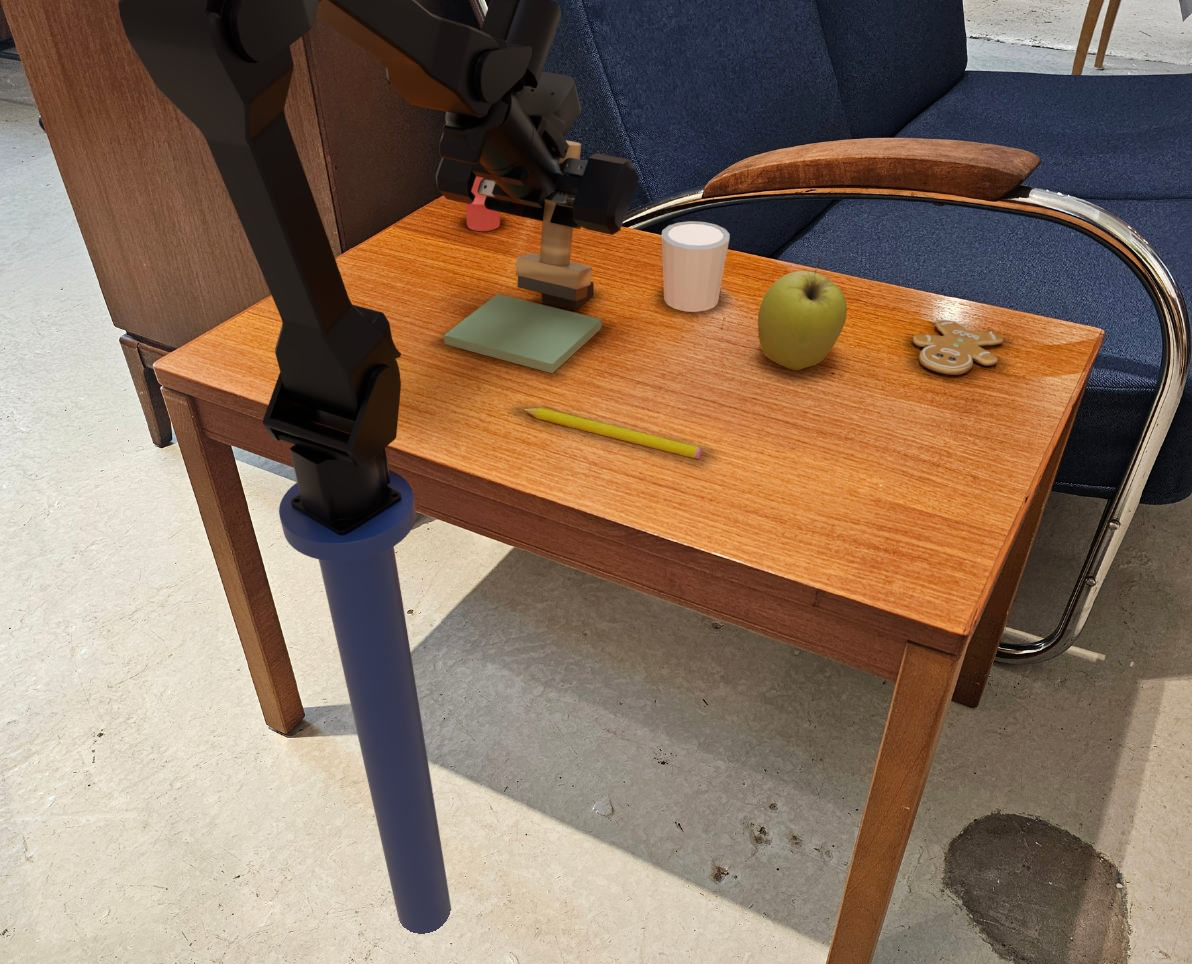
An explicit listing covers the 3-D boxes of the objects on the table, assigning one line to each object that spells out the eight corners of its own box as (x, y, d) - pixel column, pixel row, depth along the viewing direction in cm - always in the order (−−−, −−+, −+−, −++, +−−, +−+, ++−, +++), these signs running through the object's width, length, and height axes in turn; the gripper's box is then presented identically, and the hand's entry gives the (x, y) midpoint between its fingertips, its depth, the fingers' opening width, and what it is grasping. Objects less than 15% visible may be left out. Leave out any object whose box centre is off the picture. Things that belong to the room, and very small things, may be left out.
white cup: (731, 290, 111) (737, 225, 106) (715, 319, 106) (720, 252, 101) (668, 280, 113) (672, 216, 108) (649, 308, 108) (652, 242, 103)
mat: (552, 373, 98) (552, 364, 97) (444, 344, 102) (443, 334, 101) (601, 328, 105) (601, 319, 104) (498, 302, 109) (497, 293, 108)
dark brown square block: (575, 311, 107) (575, 297, 106) (541, 302, 109) (541, 289, 108) (593, 295, 110) (593, 281, 109) (560, 287, 111) (560, 274, 110)
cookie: (1015, 334, 102) (982, 377, 96) (1013, 343, 103) (979, 386, 96) (933, 311, 105) (895, 351, 99) (931, 320, 106) (893, 360, 100)
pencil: (701, 455, 88) (702, 445, 88) (697, 461, 88) (698, 451, 87) (526, 411, 93) (525, 401, 93) (521, 417, 93) (520, 407, 92)
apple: (745, 324, 103) (788, 233, 96) (820, 355, 103) (868, 265, 97) (736, 365, 97) (782, 270, 90) (816, 396, 98) (867, 305, 91)
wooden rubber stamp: (575, 302, 103) (591, 149, 96) (514, 287, 106) (525, 137, 99) (589, 297, 106) (605, 147, 99) (529, 282, 108) (540, 135, 101)
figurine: (455, 231, 122) (443, 94, 112) (466, 214, 126) (456, 79, 116) (498, 235, 121) (490, 97, 111) (508, 217, 125) (501, 82, 115)
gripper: (632, 63, 86) (679, 159, 100) (441, 34, 92) (511, 128, 107) (587, 192, 86) (641, 269, 100) (399, 153, 92) (475, 232, 107)
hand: (566, 221), depth 104 cm, fingers closed on wooden rubber stamp, 3 cm apart
